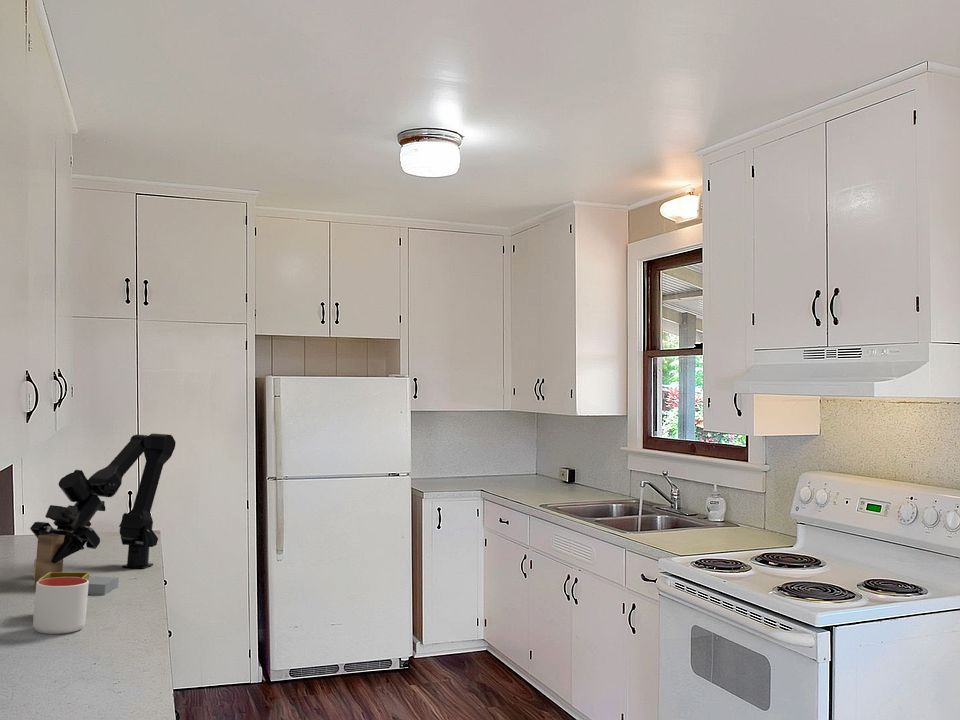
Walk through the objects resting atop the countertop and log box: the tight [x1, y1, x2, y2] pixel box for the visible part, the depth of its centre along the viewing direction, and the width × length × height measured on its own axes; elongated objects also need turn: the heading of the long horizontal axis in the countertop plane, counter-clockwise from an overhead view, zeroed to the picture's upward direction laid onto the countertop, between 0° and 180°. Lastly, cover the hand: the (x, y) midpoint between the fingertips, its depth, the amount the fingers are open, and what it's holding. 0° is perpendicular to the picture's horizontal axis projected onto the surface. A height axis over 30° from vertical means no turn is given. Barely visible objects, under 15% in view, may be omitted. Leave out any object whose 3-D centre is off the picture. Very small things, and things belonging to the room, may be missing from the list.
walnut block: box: [33, 534, 65, 588], centre depth 221 cm, size 4×4×13 cm
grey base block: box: [88, 575, 119, 596], centre depth 219 cm, size 9×9×3 cm
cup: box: [32, 577, 89, 635], centre depth 183 cm, size 10×10×10 cm
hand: (45, 561), depth 220 cm, fingers closed on walnut block, 4 cm apart
